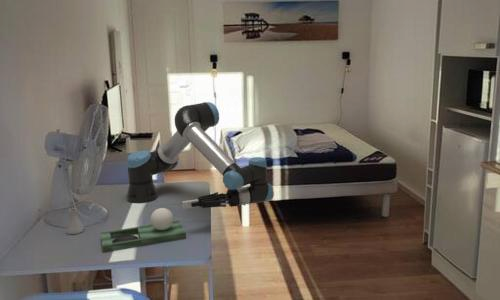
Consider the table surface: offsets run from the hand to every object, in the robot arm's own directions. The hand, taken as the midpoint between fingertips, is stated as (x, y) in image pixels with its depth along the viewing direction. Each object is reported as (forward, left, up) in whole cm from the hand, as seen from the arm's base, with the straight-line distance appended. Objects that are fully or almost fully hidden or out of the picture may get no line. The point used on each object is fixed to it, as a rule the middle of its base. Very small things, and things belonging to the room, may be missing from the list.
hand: (182, 205), depth 195 cm
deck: (0, -17, -12) cm, 21 cm away
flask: (-19, -43, -12) cm, 49 cm away
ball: (0, -9, -5) cm, 10 cm away
